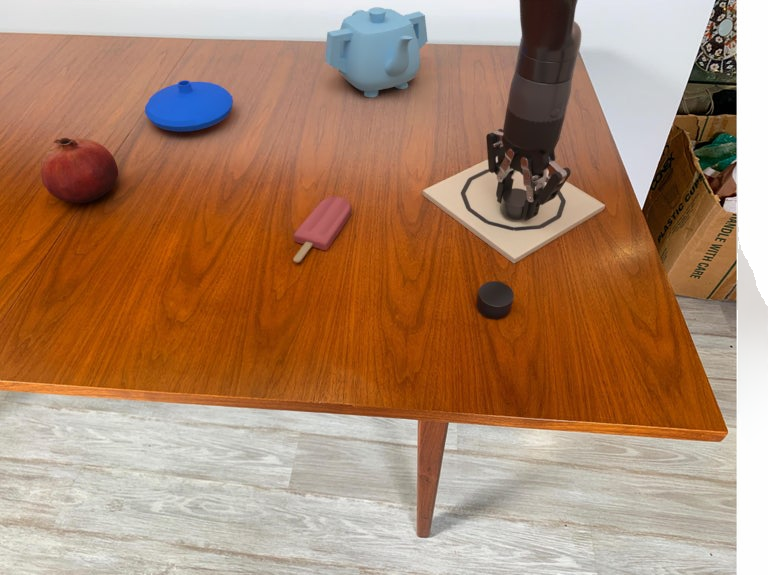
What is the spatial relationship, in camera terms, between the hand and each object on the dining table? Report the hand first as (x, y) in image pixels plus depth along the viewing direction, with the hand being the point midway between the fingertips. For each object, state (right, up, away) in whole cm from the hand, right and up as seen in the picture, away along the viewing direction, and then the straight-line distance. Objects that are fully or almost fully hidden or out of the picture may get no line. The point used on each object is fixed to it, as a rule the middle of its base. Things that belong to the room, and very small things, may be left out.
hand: (515, 208), depth 87 cm
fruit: (-66, +3, +5) cm, 67 cm away
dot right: (-5, -14, -11) cm, 19 cm away
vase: (-55, +20, +22) cm, 63 cm away
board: (0, +2, +4) cm, 5 cm away
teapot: (-20, +29, +31) cm, 47 cm away
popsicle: (-29, -4, -1) cm, 29 cm away
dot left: (0, 0, 0) cm, 0 cm away
